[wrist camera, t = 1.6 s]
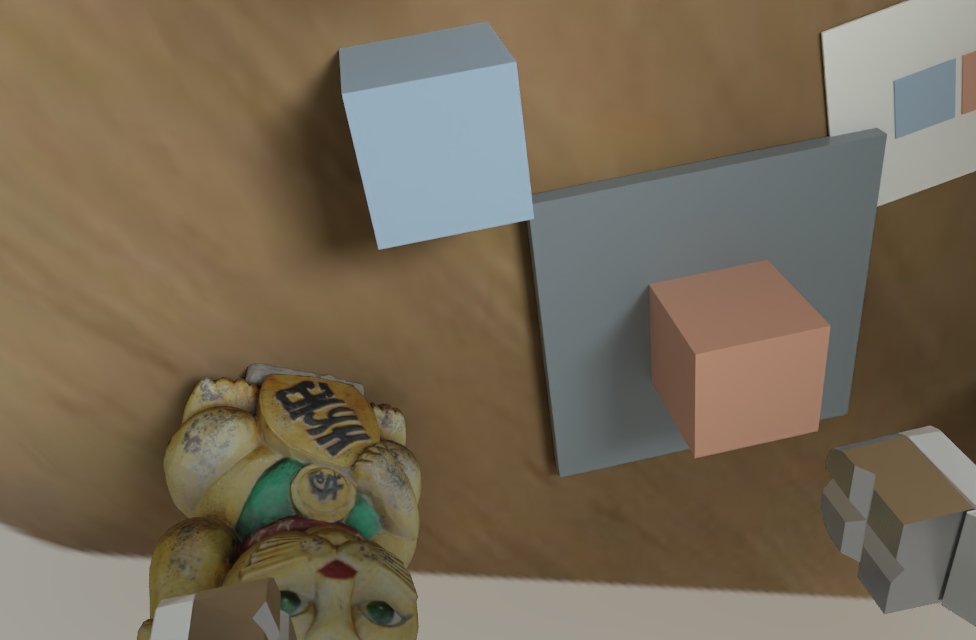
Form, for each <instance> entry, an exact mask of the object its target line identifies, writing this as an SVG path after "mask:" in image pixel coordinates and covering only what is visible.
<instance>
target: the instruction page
mask: <svg viewBox="0 0 976 640" xmlns="http://www.w3.org/2000/svg"><path fill="white" fill-rule="evenodd" d="M821 41H822V54H823V66H824V79H825V92H826V105H827V117H828V130H829V136H830V137H833V136H838V135H843V134H848V133H853V132H858V131H863V130H868V129H873V128H878V129H880V130H882V131H883V132H885V133H886V134H887V139H886V146H885V153H884V160H883V167H882V174H881V181H880V188H879V195H878V202H877V207H878V206H881V205H884V204H886V203H889V202H892V201H895V200H897V199H900V198H903V197H906V196H908V195H911V194H914V193H917V192H919V191H922V190H925V189H928V188H930V187H933V186H936V185H939V184H941V183H944V182H947V181H950V180H952V179H955V178H958V177H961V176H963V175H966V174H969V173H972V172H974V171H976V0H907V1H904V2H901V3H899V4H896V5H893V6H890V7H888V8H885V9H882V10H880V11H877V12H874V13H872V14H869V15H866V16H864V17H861V18H858V19H855V20H853V21H850V22H847V23H845V24H842V25H839V26H837V27H834V28H831V29H828V30H826V31H823V32H821Z"/></svg>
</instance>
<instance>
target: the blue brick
mask: <svg viewBox="0 0 976 640" xmlns="http://www.w3.org/2000/svg"><path fill="white" fill-rule="evenodd" d="M339 58H340V74H341V91H342V98H343V102H344V106H345V110H346V114H347V119H348V123H349V127H350V131H351V135H352V140H353V144H354V148H355V152H356V157H357V161H358V165H359V169H360V173H361V178H362V182H363V186H364V190H365V194H366V199H367V203H368V207H369V211H370V216H371V220H372V224H373V228H374V232H375V237H376V241H377V245H378V249H379V250H380V249H385V248H390V247H395V246H400V245H405V244H410V243H415V242H420V241H425V240H430V239H436V238H441V237H446V236H451V235H456V234H461V233H466V232H471V231H476V230H481V229H486V228H491V227H496V226H501V225H506V224H511V223H516V222H521V221H526V220H531V219H534V212H533V204H532V195H531V186H530V178H529V169H528V160H527V151H526V143H525V134H524V125H523V117H522V108H521V99H520V90H519V82H518V73H517V64H516V61H515V59H514V58H513V56H512V55H511V54H510V52H509V51H508V50H507V48H506V47H505V45H504V44H503V43H502V41H501V40H500V38H499V37H498V36H497V34H496V33H495V31H494V30H493V29H492V27H491V26H490V24H489V23H488V22H483V23H477V24H472V25H466V26H461V27H456V28H450V29H445V30H439V31H434V32H428V33H423V34H417V35H412V36H406V37H401V38H395V39H390V40H384V41H379V42H373V43H368V44H363V45H357V46H352V47H346V48H341V49H339Z"/></svg>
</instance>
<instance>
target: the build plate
mask: <svg viewBox="0 0 976 640" xmlns="http://www.w3.org/2000/svg"><path fill="white" fill-rule="evenodd" d="M886 139H887V134H886V133H885V132H883V131H882V130H880V129H878V128H873V129H868V130H863V131H858V132H853V133H848V134H843V135H838V136H833V137H830V136H827V137H822V138H817V139H811V140H806V141H801V142H796V143H791V144H786V145H781V146H776V147H771V148H766V149H761V150H756V151H751V152H746V153H740V154H735V155H730V156H725V157H720V158H715V159H710V160H705V161H700V162H695V163H690V164H685V165H680V166H675V167H669V168H664V169H659V170H654V171H649V172H644V173H639V174H634V175H629V176H624V177H619V178H614V179H609V180H604V181H598V182H593V183H588V184H583V185H578V186H573V187H568V188H563V189H558V190H553V191H548V192H543V193H538V194H533V195H532V204H533V212H534V219H531V220H527V228H528V236H529V245H530V253H531V261H532V270H533V278H534V286H535V295H536V303H537V311H538V320H539V328H540V336H541V345H542V353H543V361H544V370H545V378H546V387H547V395H548V403H549V412H550V420H551V428H552V437H553V445H554V453H555V462H556V467H557V470H558V473H559V476H560V478H561V477H565V476H570V475H575V474H579V473H584V472H588V471H593V470H597V469H602V468H606V467H611V466H615V465H620V464H624V463H629V462H633V461H638V460H642V459H647V458H651V457H656V456H660V455H665V454H669V453H674V452H679V451H683V450H688V449H689V447H688V445H687V444H686V442H685V440H684V438H683V436H682V435H681V433H680V431H679V429H678V428H677V426H676V424H675V422H674V420H673V419H672V417H671V415H670V413H669V411H668V410H667V408H666V406H665V404H664V402H663V401H662V399H661V397H660V395H659V394H658V392H657V390H656V388H655V386H654V385H653V383H652V373H651V339H650V305H649V284H652V283H657V282H662V281H667V280H672V279H677V278H681V277H686V276H691V275H696V274H701V273H706V272H710V271H715V270H720V269H725V268H730V267H735V266H739V265H744V264H749V263H754V262H759V261H764V260H768V261H769V262H770V263H771V264H772V265H773V266H774V267H775V268H776V269H777V270H778V271H779V272H780V273H781V274H782V275H783V276H784V277H785V278H786V280H787V281H788V282H789V283H790V284H791V285H792V286H793V287H794V288H795V289H796V290H797V291H798V292H799V293H800V294H801V295H802V296H803V297H804V298H805V299H806V301H807V302H808V303H809V304H810V305H811V306H812V307H813V308H814V309H815V310H816V311H817V312H818V313H819V314H820V315H821V316H822V317H823V318H824V319H825V320H826V322H827V323H828V324H829V325H830V335H829V343H828V352H827V360H826V369H825V377H824V385H823V394H822V402H821V411H820V419H819V420H823V419H828V418H832V417H837V416H841V415H846V414H847V413H848V406H849V399H850V392H851V385H852V378H853V371H854V364H855V357H856V350H857V343H858V336H859V329H860V322H861V315H862V308H863V301H864V294H865V287H866V280H867V273H868V266H869V259H870V252H871V245H872V238H873V230H874V223H875V216H876V209H877V202H878V195H879V188H880V181H881V174H882V167H883V160H884V153H885V146H886Z"/></svg>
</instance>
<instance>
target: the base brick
mask: <svg viewBox="0 0 976 640" xmlns="http://www.w3.org/2000/svg"><path fill="white" fill-rule="evenodd" d="M649 305H650V339H651V373H652V383H653V385H654V386H655V388H656V390H657V392H658V394H659V395H660V397H661V399H662V401H663V402H664V404H665V406H666V408H667V410H668V411H669V413H670V415H671V417H672V419H673V420H674V422H675V424H676V426H677V428H678V429H679V431H680V433H681V435H682V436H683V438H684V440H685V442H686V444H687V445H688V447H689V449H690V451H691V453H692V454H693V456H694V458H699V457H703V456H708V455H712V454H717V453H721V452H726V451H730V450H735V449H739V448H744V447H748V446H753V445H757V444H762V443H766V442H771V441H775V440H780V439H784V438H789V437H793V436H798V435H802V434H807V433H811V432H816V431H818V428H819V419H820V411H821V402H822V394H823V385H824V377H825V369H826V360H827V352H828V343H829V335H830V325H829V324H828V323H827V322H826V320H825V319H824V318H823V317H822V316H821V315H820V314H819V313H818V312H817V311H816V310H815V309H814V308H813V307H812V306H811V305H810V304H809V303H808V302H807V301H806V299H805V298H804V297H803V296H802V295H801V294H800V293H799V292H798V291H797V290H796V289H795V288H794V287H793V286H792V285H791V284H790V283H789V282H788V281H787V280H786V278H785V277H784V276H783V275H782V274H781V273H780V272H779V271H778V270H777V269H776V268H775V267H774V266H773V265H772V264H771V263H770V262H769V261H768V260H764V261H759V262H754V263H749V264H744V265H739V266H735V267H730V268H725V269H720V270H715V271H710V272H706V273H701V274H696V275H691V276H686V277H681V278H677V279H672V280H667V281H662V282H657V283H652V284H649Z"/></svg>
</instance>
